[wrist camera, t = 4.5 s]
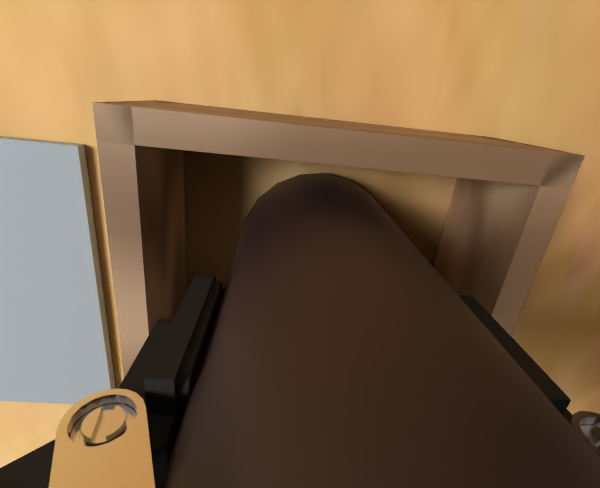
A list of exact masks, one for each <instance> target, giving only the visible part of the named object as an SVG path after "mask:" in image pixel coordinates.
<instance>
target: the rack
mask: <svg viewBox="0 0 600 488" xmlns="http://www.w3.org/2000/svg"><path fill="white" fill-rule="evenodd" d="M93 111H94V120H95V128H96V137H97V146H98V154H99V163H100V172H101V181H102V189H103V198H104V207H105V215H106V224H107V233H108V241H109V250H110V259H111V267H112V276H113V285H114V293H115V302H116V311H117V319H118V328H119V337H120V345H121V354H122V363H123V371H124V378H125V376H126V374H127V373H128V371H129V369H130V367H131V366H132V364H133V362H134V360H135V358H136V357H137V355H138V353H139V351H140V350H141V348H142V346H143V344H144V343H145V341H146V339H147V337H148V336H149V334H150V332H151V330H152V329H153V327H154V325H155V323H156V322H157V320H158V319H160V318H165V319H173V318H174V316H175V314H176V312H177V310H178V308H179V306H180V304H181V302H182V300H183V298H184V296H185V294H186V292H187V290H186V247H185V204H184V160H183V150H188V151H198V152H208V153H218V154H228V155H238V156H248V157H258V158H268V159H278V160H288V161H298V162H308V163H318V164H328V165H338V166H348V167H358V168H368V169H378V170H388V171H398V172H408V173H418V174H428V175H438V176H448V177H458V178H457V182H456V185H455V189H454V192H453V196H452V200H451V203H450V207H449V210H448V214H447V217H446V221H445V224H444V228H443V231H442V235H441V239H440V242H439V246H438V249H437V253H436V256H435V260H434V263H433V267H434V269H435V270H436V271H437V272H438V273H439V274H440V275H441V277H442V278H443V279H444V280H445V281H446V282H447V283H448V285H449V286H450V287H451V288H452V289H453V290H454V291H455V293H456V294H458V295H471V296H473V297H474V298H475V299H476V300H477V301H478V302H479V303H480V304H481V305H482V306H483V307H484V308H485V310H486V311H487V312H488V313H489V314H490V315H491V316H492V317H493V318H494V319H495V320H496V321H497V322H498V323H499V324H500V325H501V326H502V328H503V329H504V330H505V331H506V332H507V333H508V334H509V335H511V333H512V331H513V328H514V326H515V323H516V321H517V318H518V316H519V314H520V311H521V309H522V306H523V304H524V301H525V299H526V297H527V294H528V292H529V289H530V287H531V284H532V282H533V280H534V277H535V275H536V272H537V270H538V268H539V265H540V263H541V260H542V258H543V255H544V253H545V251H546V248H547V246H548V243H549V241H550V238H551V236H552V234H553V231H554V229H555V226H556V224H557V221H558V219H559V217H560V214H561V212H562V209H563V207H564V204H565V202H566V200H567V197H568V195H569V192H570V190H571V188H572V185H573V183H574V180H575V178H576V175H577V173H578V171H579V168H580V166H581V163H582V161H583V158H584V156H583V155H578V154H573V153H568V152H563V151H558V150H553V149H548V148H543V147H538V146H532V145H527V144H522V143H517V142H512V141H507V140H502V139H497V138H492V137H483V136H474V135H465V134H456V133H447V132H437V131H428V130H419V129H410V128H401V127H392V126H383V125H374V124H365V123H356V122H347V121H338V120H329V119H320V118H311V117H302V116H292V115H283V114H274V113H265V112H256V111H247V110H238V109H229V108H220V107H211V106H202V105H193V104H184V103H175V102H166V101H157V100H156V101H123V102H93Z"/></svg>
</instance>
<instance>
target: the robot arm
mask: <svg viewBox="0 0 600 488" xmlns="http://www.w3.org/2000/svg"><path fill="white" fill-rule="evenodd" d="M222 292H223V283H222V282H218V281H216V277H215V276H205V275H195V276H194V278H193V280H192V282H191V284H190V286H189V288H188V290H187V292H186V294H185V296H184V298H183V300H182V302H181V304H180V306H179V308H178V310H177V312H176V314H175V316H174V318H173V319H165V318H160V319H158V320H157V322H156V323H155V325H154V327H153V329H152V330H151V332H150V334H149V336H148V337H147V339H146V341H145V343H144V344H143V346H142V348H141V350H140V351H139V353H138V355H137V357H136V358H135V360H134V362H133V364H132V366H131V367H130V369H129V371H128V373H127V374H126V376H125V378H124V380H123V381H122V383H121V385H120V387H119V388H118V389H117V388H116V389H109V390H103V391H100V392H97V393H94V394H91V395H89V396H87V397H86V398H84V399H82V400H80V401H79V402H77V403H76V404H75V405H74V406H73V407H71V408H70V409H69V410H68V411H67V412H66V414H65V415H64V416H63V418H62V419H61V420H60V423H59V426H58V429H57V432H56V439H55V440H53V441H51V442H49V443H47V444H46V445H44V446H42V447H40V448H38V449H36V450H34V451H32V452H30V453H28V454H26V455H25V456H23V457H21V458H19V459H17V460H15V461H13V462H11V463H9V464H7V465H6V466H4V467H2V468H0V488H161V486H162V483H163V480H164V477H165V473H166V470H167V467H168V464H169V461H170V457H171V454H172V451H173V448H174V445H175V442H176V438H177V435H178V432H179V429H180V426H181V423H182V419H183V416H184V413H185V410H186V407H187V403H188V400H189V397H190V394H191V391H192V388H193V384H194V381H195V378H196V375H197V372H198V369H199V365H200V362H201V359H202V356H203V353H204V349H205V346H206V343H207V340H208V337H209V334H210V330H211V327H212V324H213V321H214V318H215V315H216V311H217V308H218V305H219V302H220V299H221V295H222ZM457 295H458V294H457ZM458 296H459V297H460V298H461V299H462V301H463V302H464V303H465V304H466V305H467V306H468V307H469V309H470V310H471V311H472V312H473V313H474V314H475V316H476V317H477V318H478V319H479V320H480V321H481V322H482V324H483V325H484V326H485V327H486V328H487V329H488V330H489V332H490V333H491V334H492V335H493V336H494V337H495V338H496V340H497V341H498V342H499V343H500V344H501V345H502V346H503V348H504V349H505V350H506V351H507V352H508V353H509V354H510V356H511V357H512V358H513V359H514V360H515V361H516V362H517V364H518V365H519V366H520V367H521V368H522V369H523V370H524V372H525V373H526V374H527V375H528V376H529V377H530V378H531V380H532V381H533V382H534V383H535V384H536V385H537V387H538V388H539V389H540V390H541V391H542V392H543V393H544V395H545V396H546V397H547V398H548V399H549V400H550V401H551V403H552V404H553V405H554V406H555V407H556V408H557V409H558V411H559V412H560V413H561V414H562V415H563V416H564V417H565V419H566V420H567V421H568V422H569V423H570V424H571V425H572V427H573V428H574V429H575V430H576V431H577V432H578V433H579V435H580V436H581V437H582V438H583V439H584V440H585V441H586V443H587V444H588V445H589V446H590V447H591V448H592V450H593V451H594V452H595V453H596V454H597V455H598V456H599V458H600V414H598V413H594V412H589V411H579V412H577V413H574V414H573V415H572V414H571V413H570V412H569V411H568V410H567V409H566V408H567V407H568V405H569V403H570V401H571V400H570V399H569V397H568V396H567V395H566V394H565V393H564V392H563V391H562V390H561V389H560V388H559V387H558V386H557V385H556V384H555V383H554V382H553V381H552V379H551V378H550V377H549V376H548V375H547V374H546V373H545V372H544V371H543V370H542V369H541V368H540V367H539V366H538V365H537V364H536V363H535V361H534V360H533V359H532V358H531V357H530V356H529V355H528V354H527V353H526V352H525V351H524V350H523V349H522V348H521V347H520V346H519V344H518V343H517V342H516V341H515V340H514V339H513V338H512V337H511V336H510V335H509V334H508V333H507V332H506V331H505V330H504V329H503V328H502V326H501V325H500V324H499V323H498V322H497V321H496V320H495V319H494V318H493V317H492V316H491V315H490V314H489V313H488V312H487V311H486V310H485V308H484V307H483V306H482V305H481V304H480V303H479V302H478V301H477V300H476V299H475V298H474V297H473V296H471V295H458Z"/></svg>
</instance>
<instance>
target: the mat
mask: <svg viewBox="0 0 600 488" xmlns="http://www.w3.org/2000/svg"><path fill="white" fill-rule="evenodd" d="M109 389H116V386H115V378H114V371H113V363H112V355H111V347H110V340H109V332H108V324H107V317H106V309H105V301H104V293H103V286H102V278H101V270H100V262H99V255H98V247H97V239H96V231H95V224H94V216H93V208H92V200H91V193H90V185H89V177H88V170H87V162H86V154H85V146H84V144H74V143H64V142H54V141H44V140H34V139H24V138H14V137H4V136H0V401H14V402H37V403H60V404H76V403H77V402H79V401H80V400H82V399H84V398H86V397H87V396H89V395H91V394H94V393H97V392H100V391H103V390H109Z"/></svg>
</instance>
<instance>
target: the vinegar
mask: <svg viewBox="0 0 600 488" xmlns="http://www.w3.org/2000/svg"><path fill="white" fill-rule="evenodd" d="M161 488H600V458H599V456H598V455H597V454H596V453H595V452H594V451H593V450H592V448H591V447H590V446H589V445H588V444H587V443H586V441H585V440H584V439H583V438H582V437H581V436H580V435H579V433H578V432H577V431H576V430H575V429H574V428H573V427H572V425H571V424H570V423H569V422H568V421H567V420H566V419H565V417H564V416H563V415H562V414H561V413H560V412H559V411H558V409H557V408H556V407H555V406H554V405H553V404H552V403H551V401H550V400H549V399H548V398H547V397H546V396H545V395H544V393H543V392H542V391H541V390H540V389H539V388H538V387H537V385H536V384H535V383H534V382H533V381H532V380H531V378H530V377H529V376H528V375H527V374H526V373H525V372H524V370H523V369H522V368H521V367H520V366H519V365H518V364H517V362H516V361H515V360H514V359H513V358H512V357H511V356H510V354H509V353H508V352H507V351H506V350H505V349H504V348H503V346H502V345H501V344H500V343H499V342H498V341H497V340H496V338H495V337H494V336H493V335H492V334H491V333H490V332H489V330H488V329H487V328H486V327H485V326H484V325H483V324H482V322H481V321H480V320H479V319H478V318H477V317H476V316H475V314H474V313H473V312H472V311H471V310H470V309H469V307H468V306H467V305H466V304H465V303H464V302H463V301H462V299H461V298H460V297H459V296H458V295H457V294H456V293H455V291H454V290H453V289H452V288H451V287H450V286H449V285H448V283H447V282H446V281H445V280H444V279H443V278H442V277H441V275H440V274H439V273H438V272H437V271H436V270H435V269H434V267H433V266H432V265H431V264H430V263H429V262H428V261H427V259H426V258H425V257H424V256H423V255H422V254H421V253H420V251H419V250H418V249H417V248H416V247H415V246H414V244H413V243H412V242H411V241H410V240H409V239H408V238H407V236H406V235H405V234H404V233H403V232H402V231H401V230H400V228H399V227H398V226H397V225H396V224H395V223H394V222H393V220H392V219H391V218H390V217H389V216H388V215H387V214H386V212H385V211H384V210H383V209H382V208H381V207H380V206H379V204H378V203H377V202H376V201H375V200H374V199H373V198H372V196H371V195H370V194H369V193H368V192H366V191H365V190H363V189H362V188H360V187H359V186H357V185H356V184H355V183H353V182H352V181H350V180H348V179H344V178H341V177H337V176H333V175H330V174H326V173H322V174H301V175H298V176H295V177H293V178H290V179H287V180H285V181H282V182H279V183H277V184H276V185H275V186H273V187H272V188H271V189H270V190H268V191H267V192H266V193H265V194H263V195H262V196H261V197H260V198H258V200H257V201H256V203H255V205H254V206H253V208H252V209H251V211H250V212H249V214H248V216H247V217H246V219H245V222H244V226H243V229H242V232H241V235H240V238H239V242H238V245H237V248H236V251H235V254H234V257H233V261H232V264H231V267H230V270H229V273H228V276H227V280H226V283H225V286H224V289H223V292H222V295H221V299H220V302H219V305H218V308H217V311H216V315H215V318H214V321H213V324H212V327H211V330H210V334H209V337H208V340H207V343H206V346H205V349H204V353H203V356H202V359H201V362H200V365H199V369H198V372H197V375H196V378H195V381H194V384H193V388H192V391H191V394H190V397H189V400H188V403H187V407H186V410H185V413H184V416H183V419H182V423H181V426H180V429H179V432H178V435H177V438H176V442H175V445H174V448H173V451H172V454H171V457H170V461H169V464H168V467H167V470H166V473H165V477H164V480H163V483H162V486H161Z"/></svg>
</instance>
